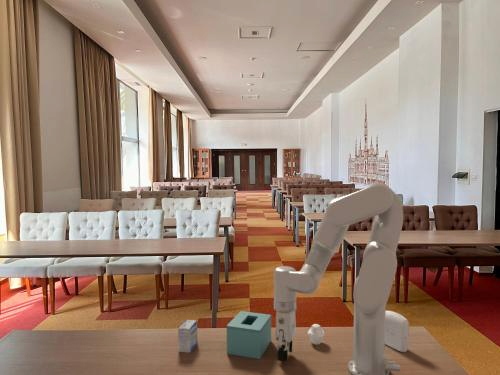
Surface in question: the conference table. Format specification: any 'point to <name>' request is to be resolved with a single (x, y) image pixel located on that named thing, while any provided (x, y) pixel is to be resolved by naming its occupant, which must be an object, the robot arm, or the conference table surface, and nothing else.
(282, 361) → the tan wooden brick
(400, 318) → the photo printer
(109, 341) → the conference table surface
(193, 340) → the medicine box
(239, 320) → the teal slotted box
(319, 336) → the white carved egg
